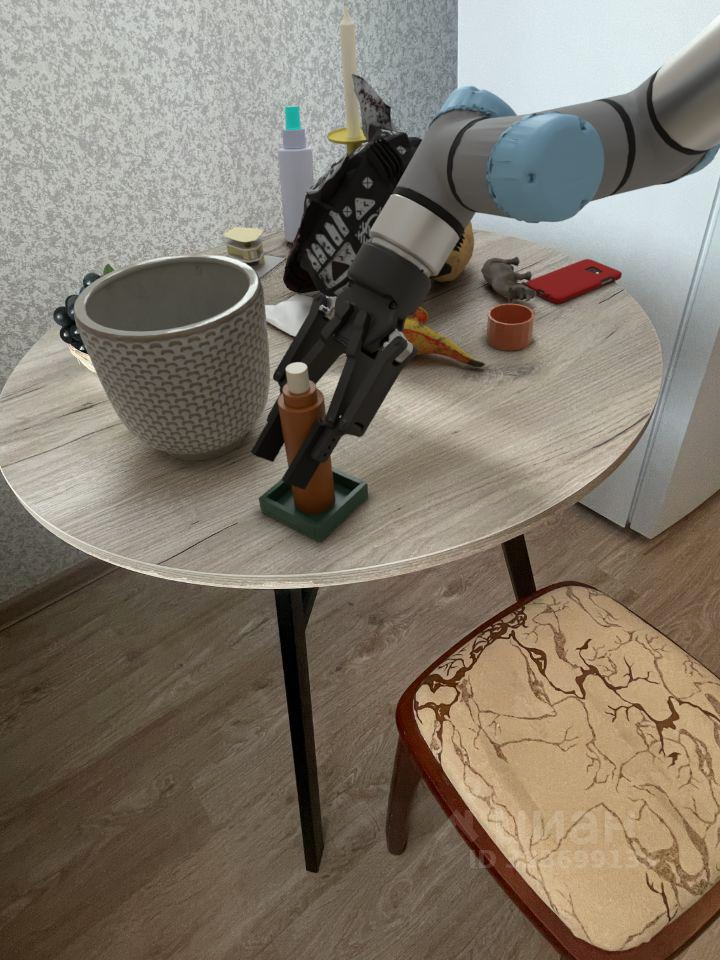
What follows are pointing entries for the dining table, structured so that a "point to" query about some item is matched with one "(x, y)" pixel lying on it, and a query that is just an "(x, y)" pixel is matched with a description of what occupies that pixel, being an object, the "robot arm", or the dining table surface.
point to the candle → (349, 90)
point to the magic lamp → (433, 340)
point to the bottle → (297, 419)
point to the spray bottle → (294, 172)
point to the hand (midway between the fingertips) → (277, 470)
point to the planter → (180, 350)
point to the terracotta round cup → (510, 326)
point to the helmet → (350, 201)
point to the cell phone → (573, 280)
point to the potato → (459, 256)
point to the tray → (315, 525)
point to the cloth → (289, 313)
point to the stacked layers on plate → (250, 249)
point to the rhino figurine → (507, 279)
